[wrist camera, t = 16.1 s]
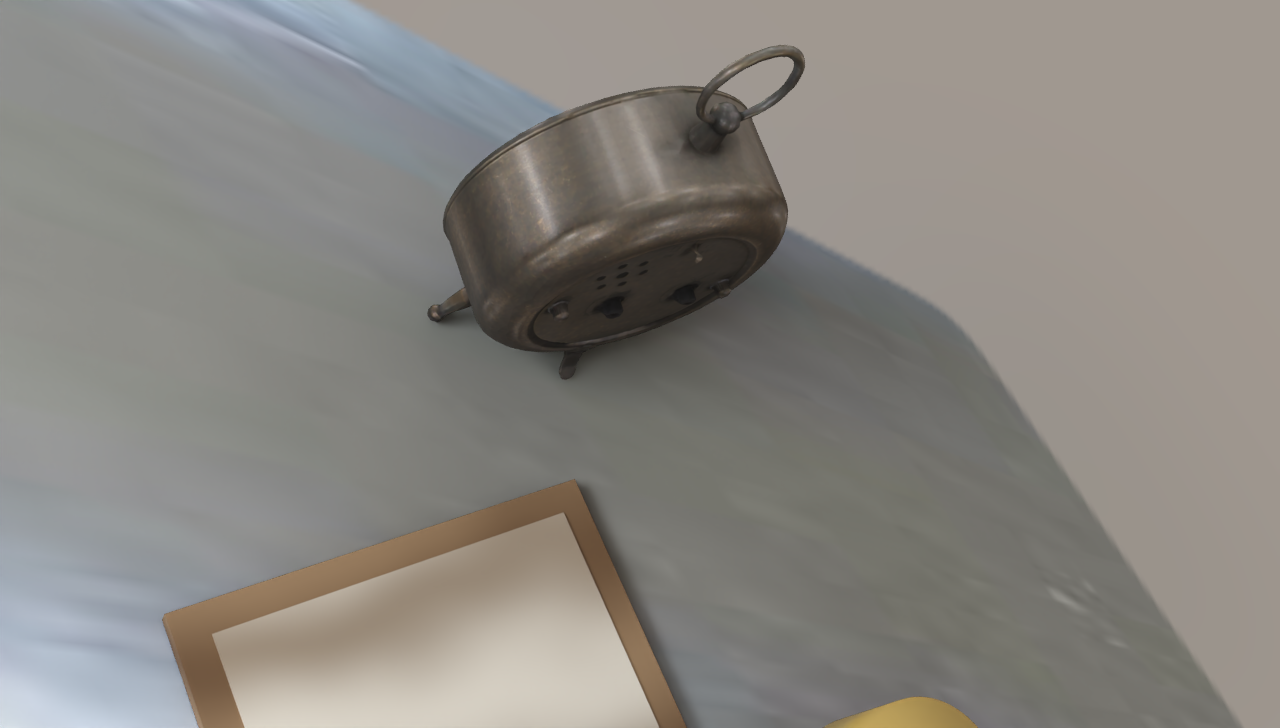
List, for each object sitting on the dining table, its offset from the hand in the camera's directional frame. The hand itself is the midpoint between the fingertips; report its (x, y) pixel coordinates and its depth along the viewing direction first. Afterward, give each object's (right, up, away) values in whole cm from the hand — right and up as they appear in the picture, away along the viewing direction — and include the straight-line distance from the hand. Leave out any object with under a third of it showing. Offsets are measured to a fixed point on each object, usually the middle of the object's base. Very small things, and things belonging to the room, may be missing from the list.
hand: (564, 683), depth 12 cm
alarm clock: (-3, +4, +33) cm, 33 cm away
